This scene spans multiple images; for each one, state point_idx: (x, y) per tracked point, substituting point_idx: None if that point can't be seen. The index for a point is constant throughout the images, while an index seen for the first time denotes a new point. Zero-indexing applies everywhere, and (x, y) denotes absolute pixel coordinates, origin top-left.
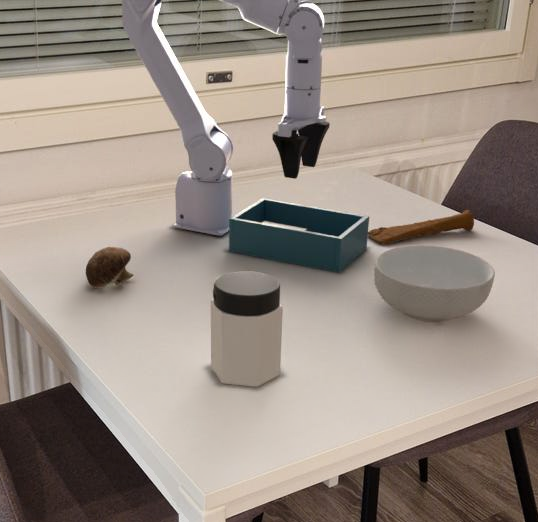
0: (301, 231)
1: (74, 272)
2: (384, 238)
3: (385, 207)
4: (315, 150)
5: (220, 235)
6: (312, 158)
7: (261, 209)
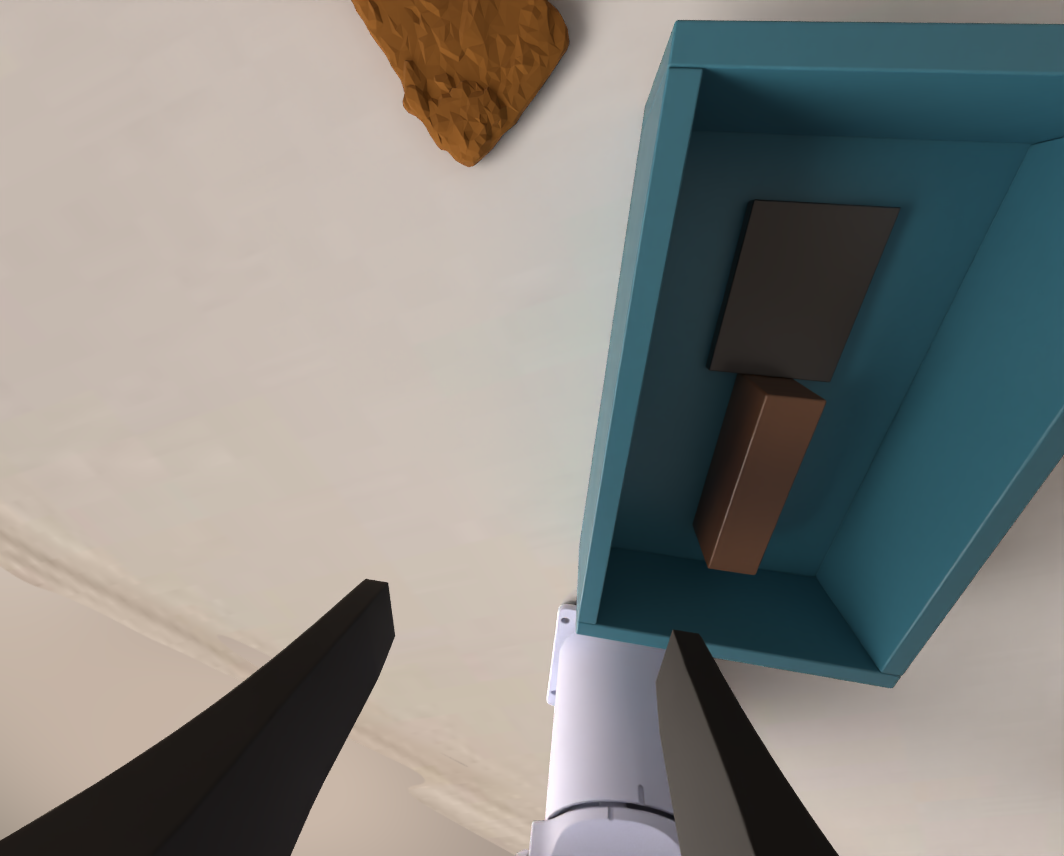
0: None
1: (1048, 820)
2: (539, 20)
3: (121, 216)
4: (308, 692)
5: None
6: (358, 642)
7: (622, 603)
